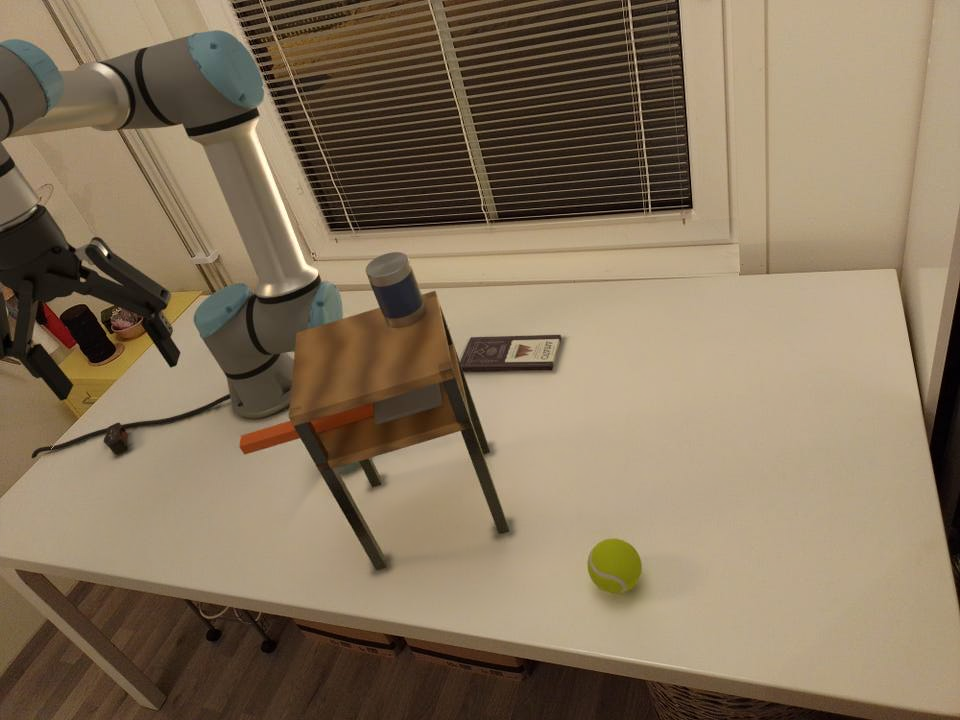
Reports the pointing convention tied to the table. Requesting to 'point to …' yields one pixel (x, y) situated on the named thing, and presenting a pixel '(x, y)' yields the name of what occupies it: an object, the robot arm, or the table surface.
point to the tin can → (396, 289)
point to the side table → (376, 376)
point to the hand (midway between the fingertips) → (121, 376)
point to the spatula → (348, 418)
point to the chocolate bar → (511, 353)
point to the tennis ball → (614, 566)
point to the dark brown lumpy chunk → (116, 438)
